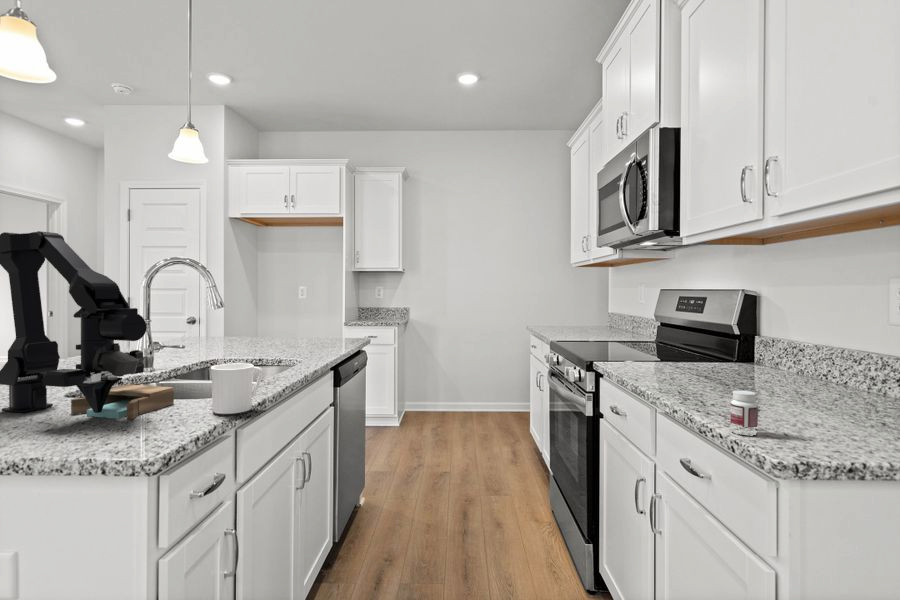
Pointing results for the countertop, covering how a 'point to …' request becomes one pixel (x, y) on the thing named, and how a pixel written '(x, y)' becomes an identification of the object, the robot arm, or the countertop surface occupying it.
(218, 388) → the mug
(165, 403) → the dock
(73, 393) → the countertop surface
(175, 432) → the countertop surface
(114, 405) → the panel
